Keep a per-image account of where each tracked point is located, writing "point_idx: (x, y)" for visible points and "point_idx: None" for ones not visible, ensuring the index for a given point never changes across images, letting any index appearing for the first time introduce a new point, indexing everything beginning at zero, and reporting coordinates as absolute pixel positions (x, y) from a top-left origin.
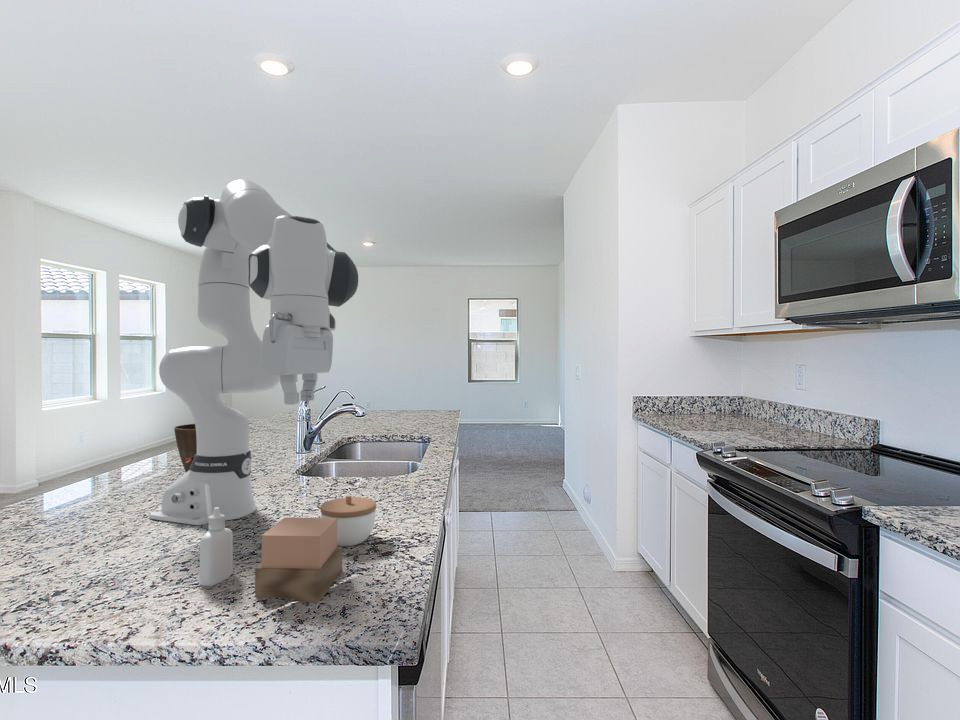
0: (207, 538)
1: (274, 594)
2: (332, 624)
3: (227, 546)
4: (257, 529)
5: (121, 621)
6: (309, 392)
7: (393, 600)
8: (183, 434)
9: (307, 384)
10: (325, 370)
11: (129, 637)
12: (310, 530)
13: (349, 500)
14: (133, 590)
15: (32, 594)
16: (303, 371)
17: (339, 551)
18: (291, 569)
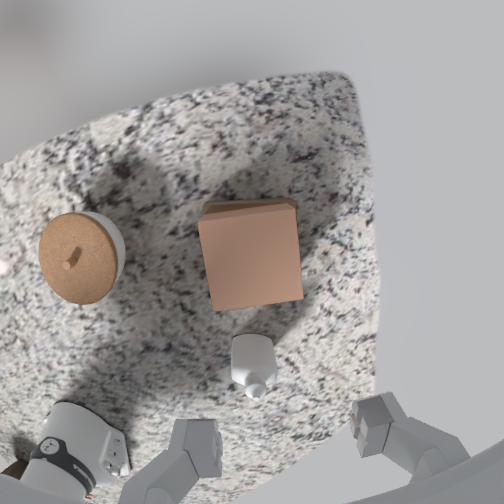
0: (275, 375)
1: None
2: (334, 159)
3: (251, 355)
4: (101, 378)
5: (346, 361)
6: (215, 447)
7: (268, 108)
8: None
9: (177, 489)
10: (43, 495)
11: (371, 335)
12: (270, 237)
13: (72, 260)
14: (287, 396)
15: (302, 447)
16: (425, 487)
17: (214, 205)
18: None
